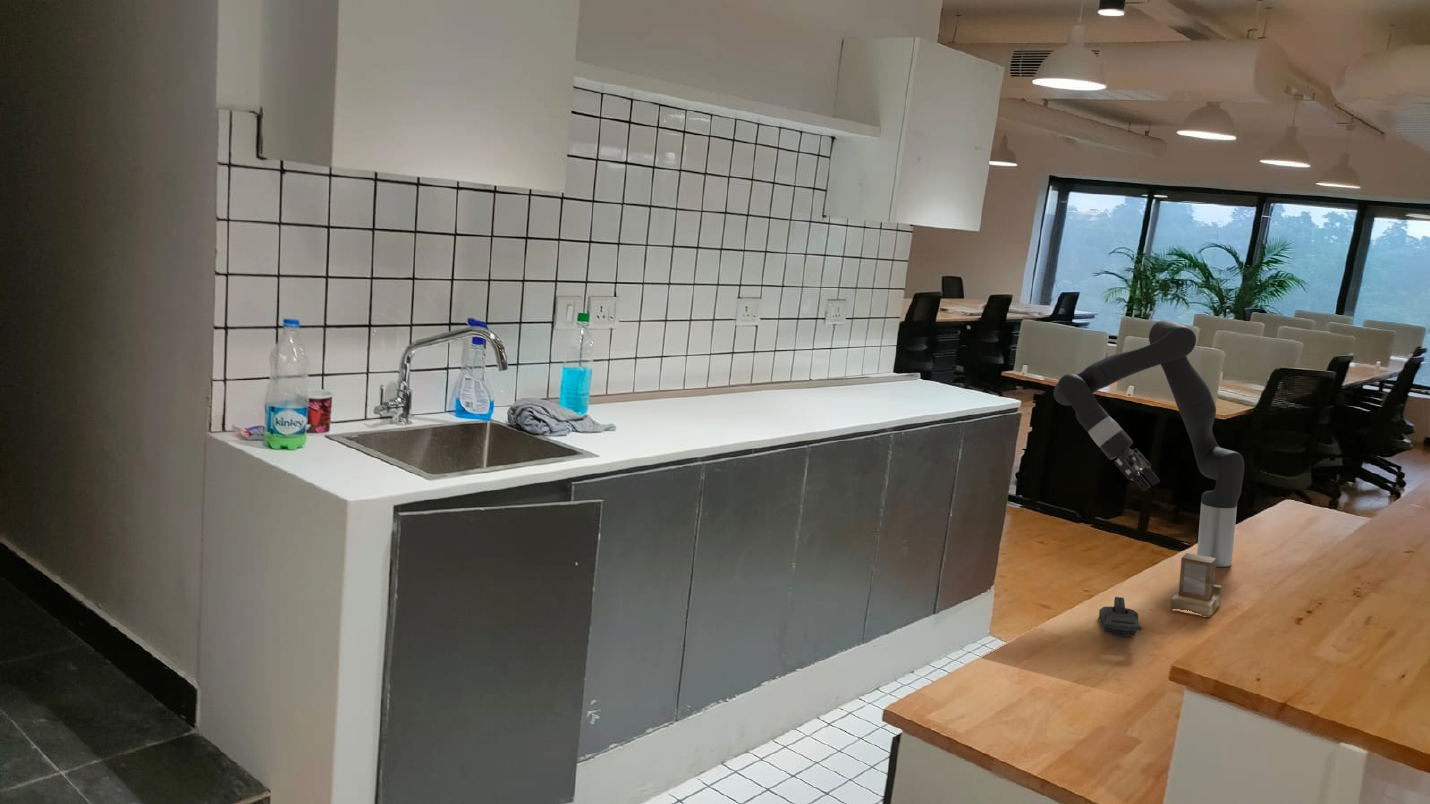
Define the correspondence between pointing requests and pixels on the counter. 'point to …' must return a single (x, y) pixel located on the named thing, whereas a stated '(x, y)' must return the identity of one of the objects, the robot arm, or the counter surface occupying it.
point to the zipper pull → (1119, 619)
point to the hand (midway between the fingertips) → (1152, 486)
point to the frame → (1197, 576)
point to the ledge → (1198, 603)
